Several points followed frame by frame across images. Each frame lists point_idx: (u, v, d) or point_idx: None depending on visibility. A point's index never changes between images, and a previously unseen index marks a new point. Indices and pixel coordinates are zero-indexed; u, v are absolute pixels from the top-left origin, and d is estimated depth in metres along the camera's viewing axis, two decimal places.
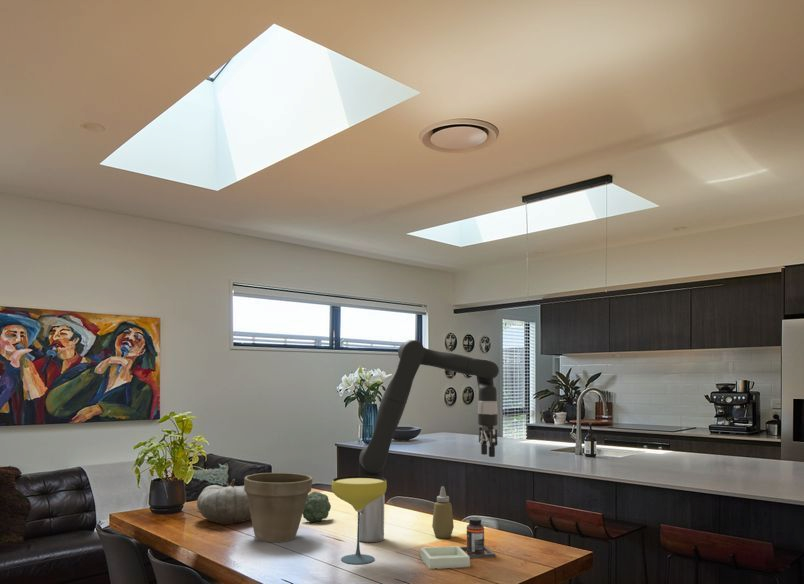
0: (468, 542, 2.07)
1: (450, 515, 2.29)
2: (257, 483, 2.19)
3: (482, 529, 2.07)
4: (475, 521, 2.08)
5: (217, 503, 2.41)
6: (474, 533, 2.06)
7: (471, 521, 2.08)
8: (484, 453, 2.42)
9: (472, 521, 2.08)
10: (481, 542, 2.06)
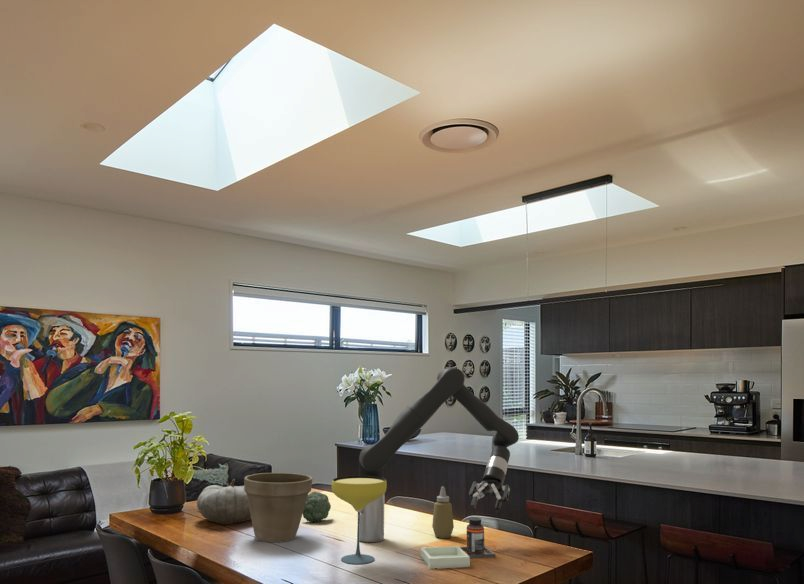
0: (468, 542, 2.07)
1: (450, 515, 2.29)
2: (257, 483, 2.19)
3: (482, 529, 2.07)
4: (475, 521, 2.08)
5: (217, 503, 2.41)
6: (474, 533, 2.06)
7: (471, 521, 2.08)
8: (474, 507, 2.20)
9: (472, 521, 2.08)
10: (481, 542, 2.06)
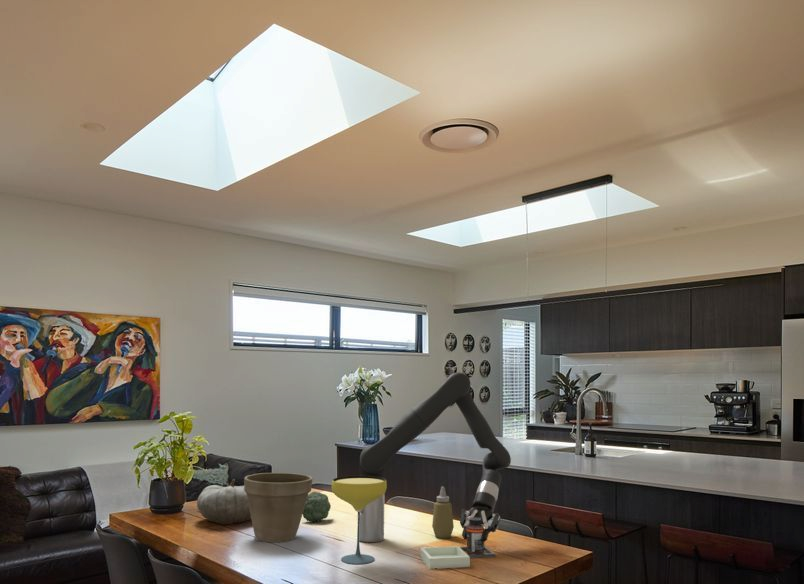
0: (468, 542, 2.07)
1: (450, 515, 2.29)
2: (257, 483, 2.19)
3: (482, 529, 2.07)
4: (475, 521, 2.08)
5: (217, 503, 2.41)
6: (474, 533, 2.06)
7: (471, 521, 2.08)
8: (465, 537, 2.09)
9: (472, 521, 2.08)
10: (481, 542, 2.06)
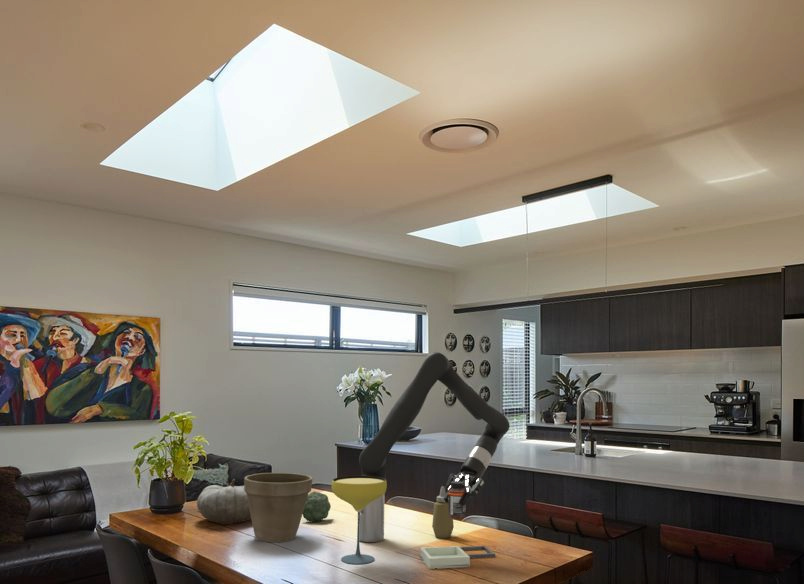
0: (448, 505, 2.04)
1: None
2: (257, 483, 2.19)
3: (462, 492, 2.03)
4: (455, 484, 2.04)
5: (217, 503, 2.41)
6: (453, 496, 2.03)
7: (451, 484, 2.05)
8: (447, 500, 2.06)
9: (452, 484, 2.04)
10: (460, 505, 2.02)
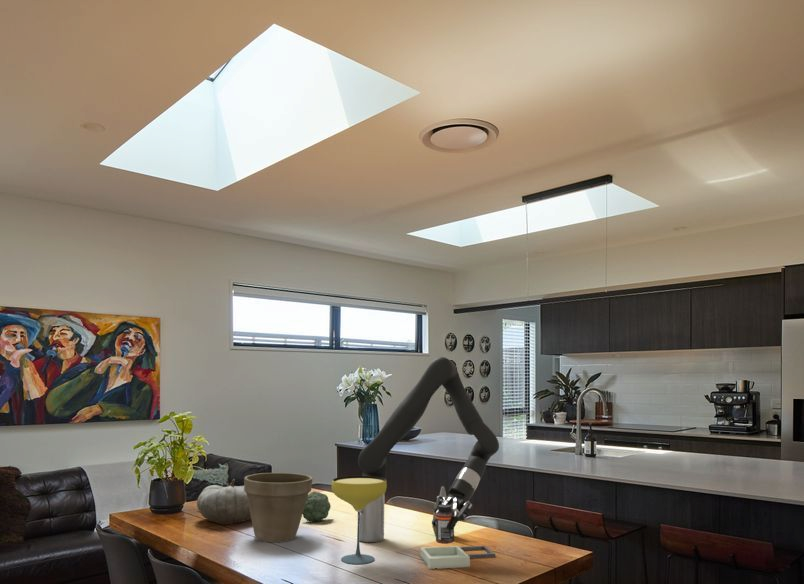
0: (436, 529, 1.99)
1: None
2: (257, 483, 2.19)
3: (449, 517, 1.97)
4: (442, 508, 1.98)
5: (217, 503, 2.41)
6: (440, 520, 1.97)
7: (439, 508, 1.99)
8: (435, 524, 2.01)
9: (439, 508, 1.99)
10: (448, 530, 1.97)
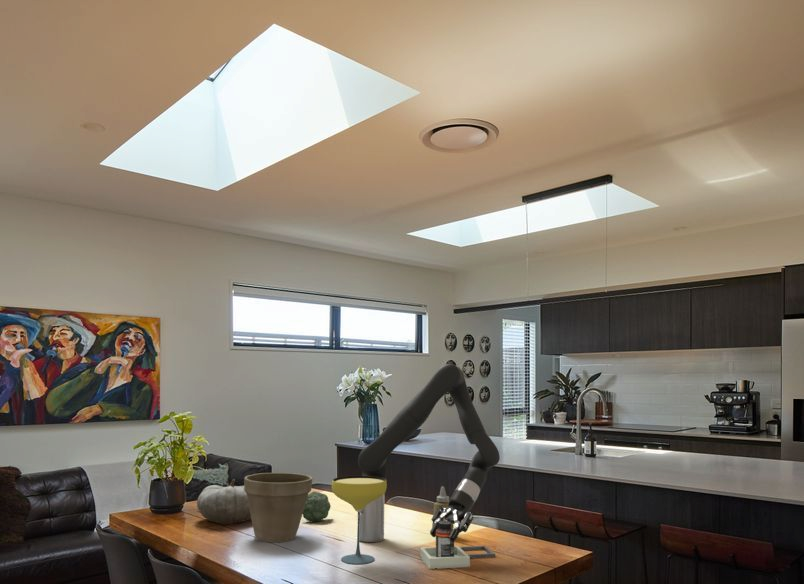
0: (436, 546, 1.98)
1: None
2: (257, 483, 2.19)
3: None
4: (442, 525, 1.98)
5: (217, 503, 2.41)
6: (440, 537, 1.97)
7: (439, 524, 1.99)
8: (433, 534, 2.01)
9: (440, 524, 1.98)
10: (448, 547, 1.96)
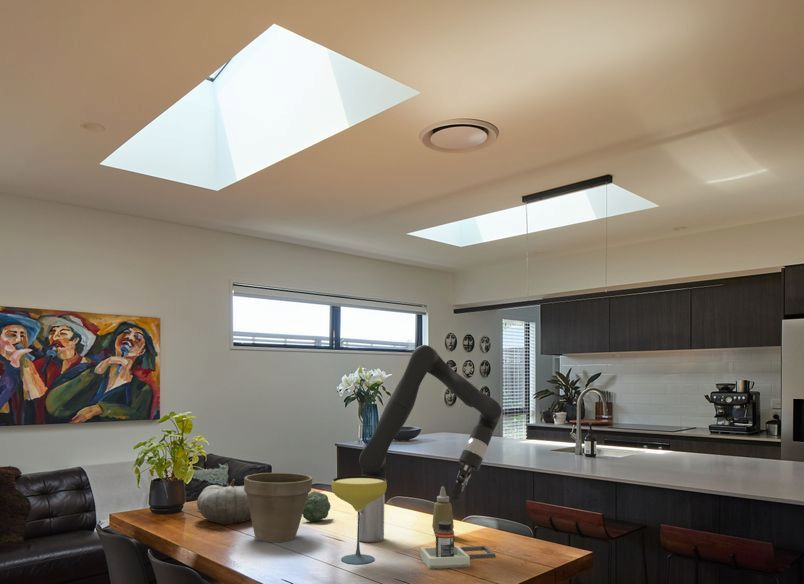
0: (436, 546, 1.98)
1: (450, 515, 2.29)
2: (257, 483, 2.19)
3: (450, 534, 1.97)
4: (442, 525, 1.98)
5: (217, 503, 2.41)
6: (440, 537, 1.96)
7: (439, 525, 1.99)
8: (455, 498, 2.13)
9: (440, 525, 1.98)
10: (448, 548, 1.96)
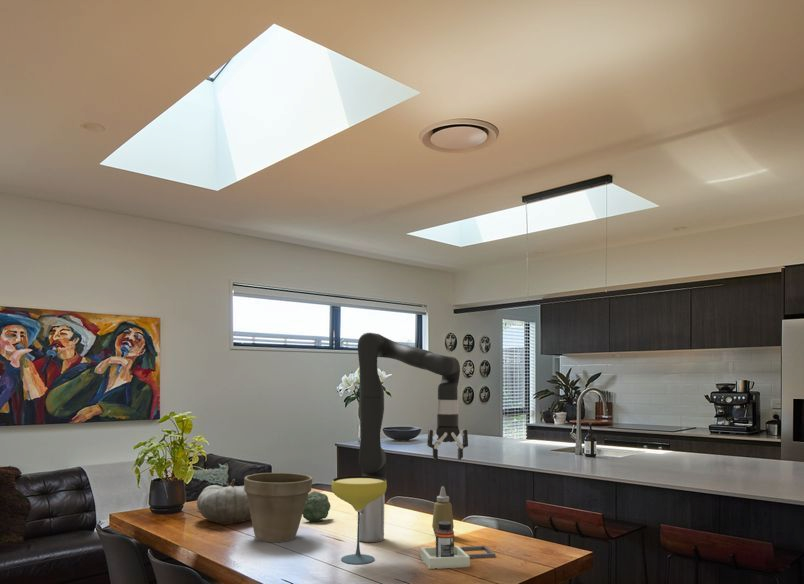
0: (436, 546, 1.98)
1: (450, 515, 2.29)
2: (257, 483, 2.19)
3: (449, 534, 1.97)
4: (442, 525, 1.98)
5: (217, 503, 2.41)
6: (440, 537, 1.96)
7: (439, 525, 1.99)
8: (458, 458, 2.17)
9: (440, 525, 1.98)
10: (448, 548, 1.96)
